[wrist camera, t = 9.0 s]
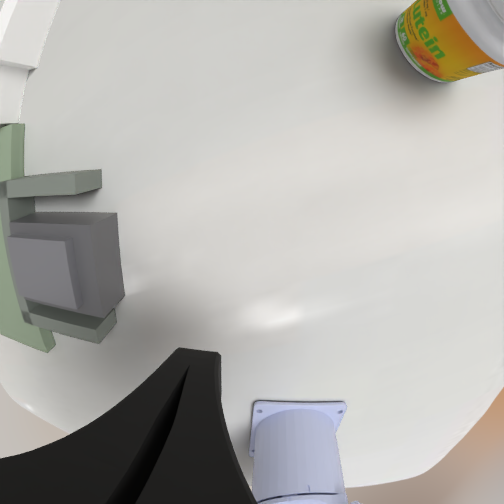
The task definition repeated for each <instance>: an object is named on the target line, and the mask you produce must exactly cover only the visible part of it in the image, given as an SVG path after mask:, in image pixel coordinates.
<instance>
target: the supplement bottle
mask: <svg viewBox="0 0 504 504" xmlns="http://www.w3.org/2000/svg"><path fill="white" fill-rule="evenodd" d="M395 34H396V39H397V43H398V45H399V47H400V49H401V51H402V53H403V55H404V56H405V58H406V59H407V60H408V62H409V63H410V64H411V65H412V66H413V67H414V68H415V69H416V70H417V71H419V72H420V73H421V74H423V75H424V76H426V77H427V78H429V79H432V80H434V81H438V82H453V81H457V80H460V79H464V78H467V77H471V76H474V75H478V74H482V73H486V72H490V71H494V70H498V69H502V68H504V0H416V1H415V2H414V3H413V4H412V5H411V6H410V7H408V8H407V9H406V10H405V11H404V12H403V13H402V14H401V15H400V17H399V18H398V20H397V22H396V26H395Z"/></svg>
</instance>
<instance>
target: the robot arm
mask: <svg viewBox="0 0 504 504" xmlns="http://www.w3.org/2000/svg"><path fill="white" fill-rule="evenodd" d="M259 409H260V410H259ZM346 409H347V404H346V403H345V402H325V403H295V402H268V401H257V402H255V403H254V409H253V419H252V429H251V438H250V448H249V456H250V457H254V467H253V481H252V492H251V490H250V488H249V486H248V484H247V481H246V479H245V477H244V475H243V473H242V470H241V468H240V465H239V463H238V460H237V458H236V455H235V452H234V449H233V446H232V443H231V440H230V437H229V433H228V430H227V426H226V422H225V418H224V414H223V409H222V403H221V355H220V354H219V353H218V352H211V351H202V350H194V349H187V348H178V349H176V350H175V351H174V352H173V353H172V354H171V355H170V357H169V358H168V359H167V360H166V361H165V362H164V363H163V364H162V365H161V366H160V367H159V368H158V369H157V370H156V371H155V372H154V373H153V374H152V375H150V376H149V377H148V378H147V379H146V380H145V381H144V382H143V383H142V384H141V385H140V386H139V387H137V388H136V389H135V390H134V391H133V392H132V393H130V394H129V395H128V396H127V397H125V398H124V399H123V400H122V401H121V402H119V403H118V404H117V405H116V406H114V407H113V408H112V409H110V410H109V411H107V412H106V413H105V414H103V415H102V416H100V417H99V418H97V419H96V420H94V421H93V422H91V423H89V424H88V425H86V426H84V427H82V428H81V429H79V430H77V431H75V432H73V433H72V434H70V435H68V436H66V437H64V438H62V439H60V440H57V441H55V442H53V443H50V444H48V445H45V446H42V447H40V448H37V449H35V450H32V451H29V452H26V453H22V454H19V455H15V456H10V457H5V458H1V459H0V504H348V499H347V494H346V493H345V486H344V480H343V473H342V467H341V461H340V455H339V449H338V444H337V438H336V431H337V429H338V427H339V425H340V423H341V420H342V418H343V416H344V413H345V411H346ZM351 504H361V503H359V501H354V502H351Z"/></svg>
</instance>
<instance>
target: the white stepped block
mask: <svg viewBox="0 0 504 504" xmlns="http://www.w3.org/2000/svg"><path fill="white" fill-rule="evenodd" d="M60 1H61V0H5V2H4V4H3V6H2V9H1V11H0V125H7V124H16V123H19V119H20V113H21V107H22V101H23V96H24V91H25V86H26V82H27V77H28V73H29V70H31V69H35V68H38V65H39V61H40V58H41V54H42V51H43V48H44V44H45V41H46V38H47V35H48V32H49V29H50V27H51V24H52V21H53V19H54V16H55V13H56V11H57V8H58V6H59V4H60Z"/></svg>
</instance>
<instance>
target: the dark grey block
mask: <svg viewBox="0 0 504 504" xmlns="http://www.w3.org/2000/svg"><path fill="white" fill-rule="evenodd" d="M9 227H10V234H11V235H10V236H8V237H7V241H8V247H9V253H10V258H11V263H12V268H13V272H14V276H15V281H16V285H17V289H18V292H19V295H20V296H24V299H25V300H29V301H33V302H36V303H40V304H44V305H48V306H52V307H56V308H60V309H64V310H69V311H73V312H77V313H82V314H87V315H91V316H96V317H101V318H105V317H106V315H107V314H108V313H109V312H110V311H111V310H112V309H113V308H114V307H115V306H116V304H117V303H118V302H119V301H120V300H121V299H122V298H123V297H124V296H125V292H124V285H123V277H122V268H121V259H120V248H119V236H118V221H117V213H100V212H35V213H32V214H29V215H27V216H24V217H21V218H19V219H16V220H14V221H11V222H9Z"/></svg>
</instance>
